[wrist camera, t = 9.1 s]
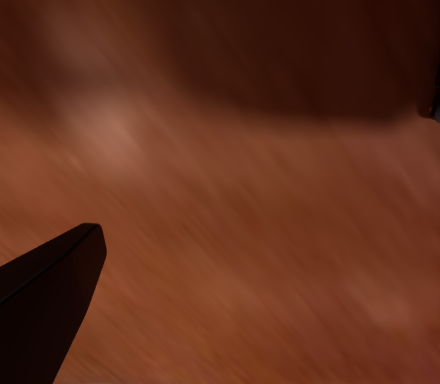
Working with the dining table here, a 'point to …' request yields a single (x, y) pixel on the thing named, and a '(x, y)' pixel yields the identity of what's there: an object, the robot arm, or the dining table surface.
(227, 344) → the dining table surface
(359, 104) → the dining table surface
